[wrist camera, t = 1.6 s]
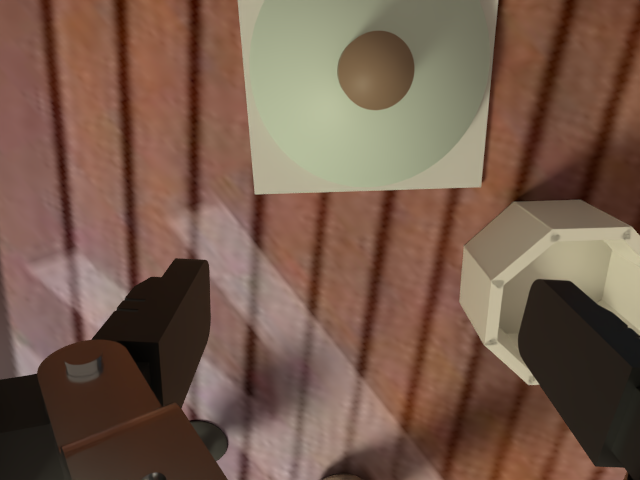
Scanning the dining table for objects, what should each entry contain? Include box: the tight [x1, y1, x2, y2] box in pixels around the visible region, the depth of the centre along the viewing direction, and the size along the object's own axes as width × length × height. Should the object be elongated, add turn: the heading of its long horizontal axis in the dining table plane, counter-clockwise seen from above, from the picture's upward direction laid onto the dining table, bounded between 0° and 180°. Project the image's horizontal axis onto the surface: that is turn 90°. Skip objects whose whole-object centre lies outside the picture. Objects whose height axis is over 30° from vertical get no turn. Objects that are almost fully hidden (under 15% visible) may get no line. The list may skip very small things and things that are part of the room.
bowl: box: [459, 199, 640, 385], centre depth 32 cm, size 11×11×6 cm
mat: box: [238, 0, 498, 194], centre depth 30 cm, size 16×16×1 cm
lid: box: [249, 0, 490, 187], centre depth 27 cm, size 15×15×6 cm
